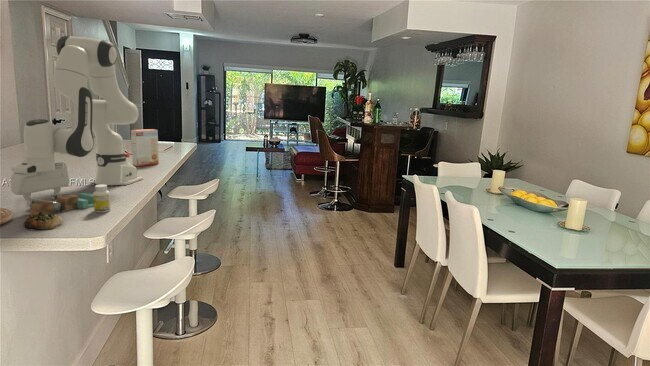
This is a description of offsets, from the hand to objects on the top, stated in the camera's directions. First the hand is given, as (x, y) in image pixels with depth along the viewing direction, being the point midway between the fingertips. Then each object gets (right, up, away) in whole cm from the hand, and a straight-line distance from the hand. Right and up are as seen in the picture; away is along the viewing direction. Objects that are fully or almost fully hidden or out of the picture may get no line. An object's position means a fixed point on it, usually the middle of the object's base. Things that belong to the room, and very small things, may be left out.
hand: (43, 202), depth 155 cm
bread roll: (+11, -7, -15) cm, 20 cm away
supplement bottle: (+20, -4, +4) cm, 21 cm away
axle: (+1, -3, +1) cm, 3 cm away
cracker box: (-4, +18, +97) cm, 99 cm away
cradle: (+9, -1, +10) cm, 14 cm away
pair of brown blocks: (+5, -3, -1) cm, 6 cm away
